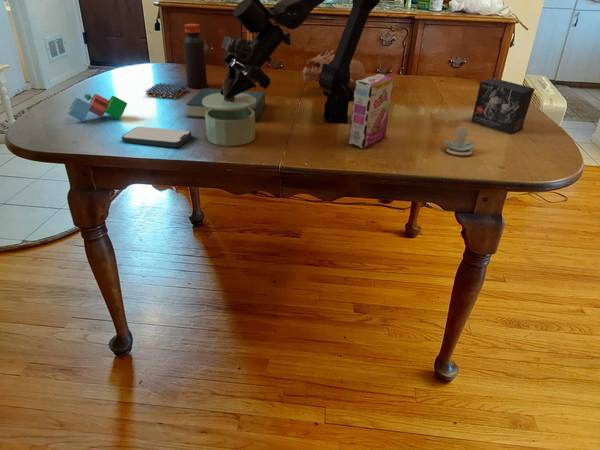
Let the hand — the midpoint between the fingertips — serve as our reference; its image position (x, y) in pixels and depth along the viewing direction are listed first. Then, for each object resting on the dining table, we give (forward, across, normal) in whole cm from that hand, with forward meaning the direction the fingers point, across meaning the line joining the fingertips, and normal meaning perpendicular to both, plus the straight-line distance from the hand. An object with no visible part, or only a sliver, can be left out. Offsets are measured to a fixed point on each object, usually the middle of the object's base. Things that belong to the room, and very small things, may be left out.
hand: (223, 96), depth 114 cm
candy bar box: (-15, +18, +31) cm, 39 cm away
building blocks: (+27, -27, -11) cm, 40 cm away
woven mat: (+10, -45, +6) cm, 46 cm away
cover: (0, 0, +2) cm, 2 cm away
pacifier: (-27, +34, +43) cm, 61 cm away
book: (+2, -20, +14) cm, 24 cm away
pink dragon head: (-27, -24, +43) cm, 56 cm away
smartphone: (+20, -6, -4) cm, 21 cm away
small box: (-45, +24, +61) cm, 80 cm away
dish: (+7, 0, +9) cm, 11 cm away
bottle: (+2, -50, +14) cm, 52 cm away
